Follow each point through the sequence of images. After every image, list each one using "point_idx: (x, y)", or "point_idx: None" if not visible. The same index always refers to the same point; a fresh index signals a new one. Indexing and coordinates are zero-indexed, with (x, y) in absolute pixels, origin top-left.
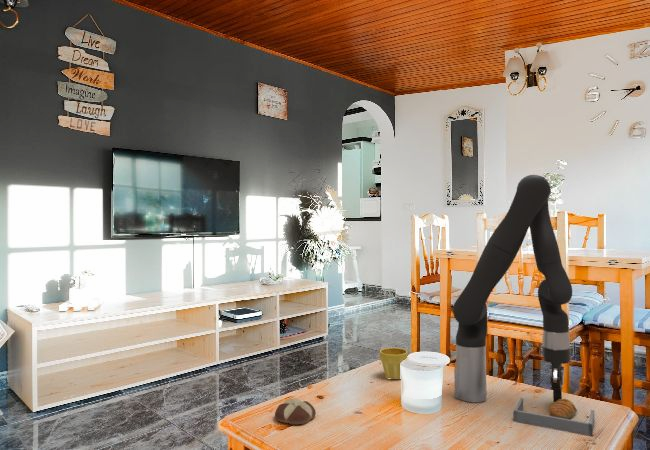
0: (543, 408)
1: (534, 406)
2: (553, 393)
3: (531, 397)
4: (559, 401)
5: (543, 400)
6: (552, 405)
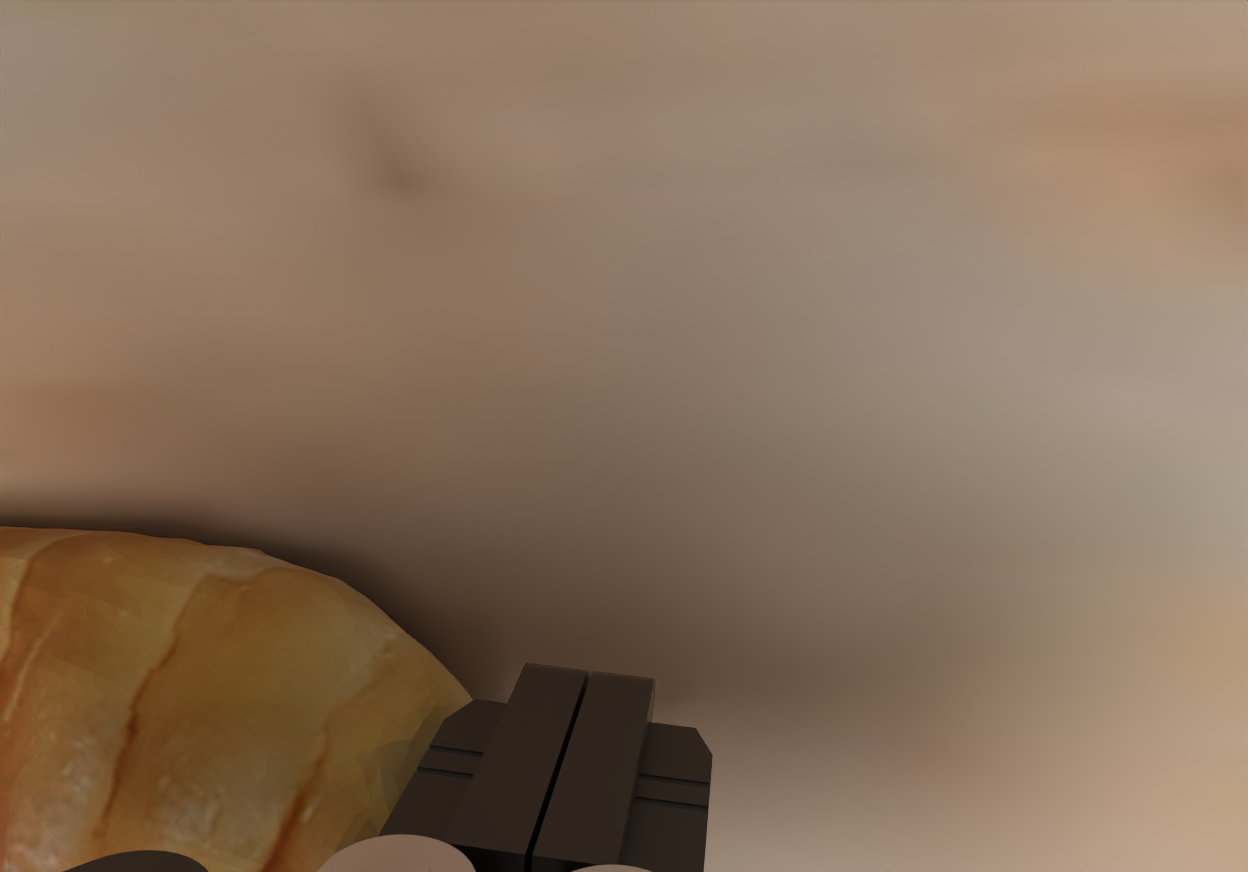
0: (394, 379)
1: (437, 165)
2: (476, 784)
3: (1153, 47)
4: None
5: (994, 376)
6: (15, 645)
